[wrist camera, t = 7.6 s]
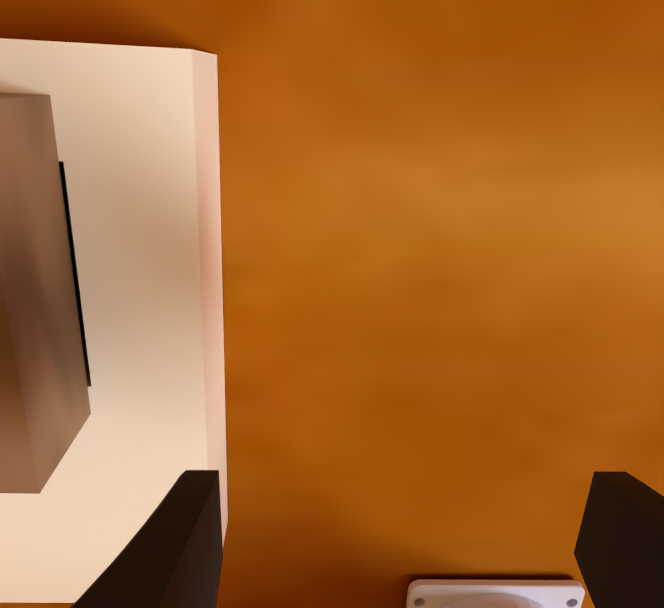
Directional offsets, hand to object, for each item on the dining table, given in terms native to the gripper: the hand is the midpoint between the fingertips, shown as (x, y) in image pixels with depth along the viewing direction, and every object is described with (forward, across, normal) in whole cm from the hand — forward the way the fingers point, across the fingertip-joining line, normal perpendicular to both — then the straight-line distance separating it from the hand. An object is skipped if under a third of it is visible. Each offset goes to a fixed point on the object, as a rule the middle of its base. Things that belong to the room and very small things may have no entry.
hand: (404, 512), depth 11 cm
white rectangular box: (+10, +10, +1) cm, 14 cm away
